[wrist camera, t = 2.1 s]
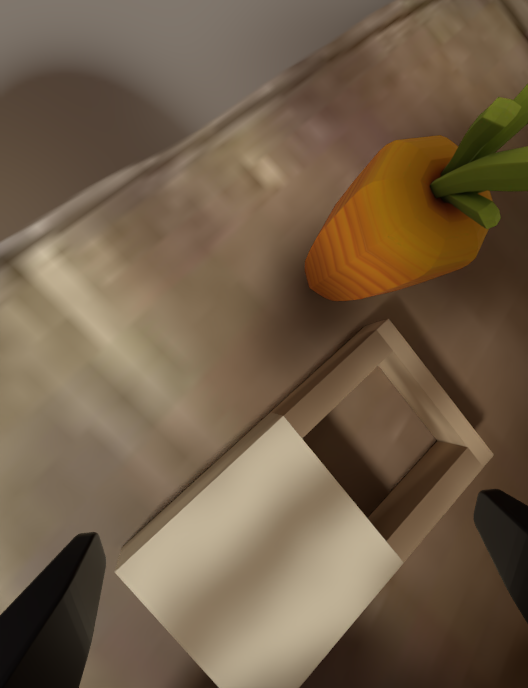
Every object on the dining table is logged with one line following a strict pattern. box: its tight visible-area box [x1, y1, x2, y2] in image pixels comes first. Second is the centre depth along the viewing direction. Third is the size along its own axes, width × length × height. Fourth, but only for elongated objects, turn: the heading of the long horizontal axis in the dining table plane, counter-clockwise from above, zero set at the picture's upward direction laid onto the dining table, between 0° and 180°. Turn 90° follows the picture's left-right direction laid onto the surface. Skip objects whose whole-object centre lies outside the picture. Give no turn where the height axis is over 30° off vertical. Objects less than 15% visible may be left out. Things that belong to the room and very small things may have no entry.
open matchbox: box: [115, 319, 494, 688], centre depth 20 cm, size 10×18×2 cm, turn 130°
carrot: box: [305, 84, 528, 301], centre depth 15 cm, size 5×5×15 cm
